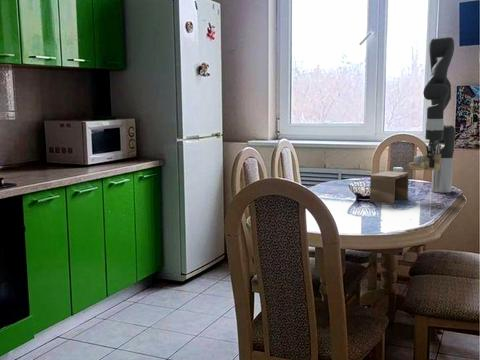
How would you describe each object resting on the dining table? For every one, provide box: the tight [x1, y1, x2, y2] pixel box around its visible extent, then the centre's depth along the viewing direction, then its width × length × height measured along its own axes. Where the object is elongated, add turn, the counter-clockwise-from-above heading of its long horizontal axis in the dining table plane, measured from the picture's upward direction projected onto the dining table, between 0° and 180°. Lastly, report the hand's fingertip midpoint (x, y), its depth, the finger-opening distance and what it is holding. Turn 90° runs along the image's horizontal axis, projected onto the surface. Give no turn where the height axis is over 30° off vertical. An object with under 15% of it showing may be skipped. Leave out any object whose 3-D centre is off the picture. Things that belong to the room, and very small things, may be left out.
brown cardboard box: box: [369, 170, 410, 205], centre depth 250 cm, size 18×11×12 cm, turn 143°
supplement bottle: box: [392, 166, 404, 172], centre depth 269 cm, size 7×7×13 cm
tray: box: [408, 153, 441, 171], centre depth 249 cm, size 12×12×7 cm
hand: (432, 167), depth 248 cm, fingers closed on tray, 3 cm apart
